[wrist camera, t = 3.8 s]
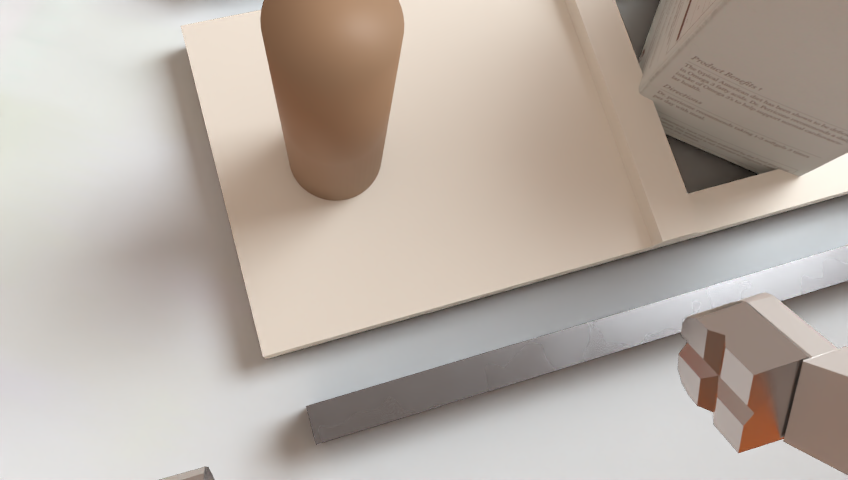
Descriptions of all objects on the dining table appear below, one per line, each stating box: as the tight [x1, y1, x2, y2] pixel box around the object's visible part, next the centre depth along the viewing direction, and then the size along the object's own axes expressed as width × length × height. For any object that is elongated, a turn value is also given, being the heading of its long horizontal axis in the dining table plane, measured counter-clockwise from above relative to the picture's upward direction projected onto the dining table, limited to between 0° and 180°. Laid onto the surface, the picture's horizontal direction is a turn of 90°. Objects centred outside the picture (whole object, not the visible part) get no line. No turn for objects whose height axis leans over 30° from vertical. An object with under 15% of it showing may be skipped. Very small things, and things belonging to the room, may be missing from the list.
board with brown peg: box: [181, 0, 848, 359], centre depth 22 cm, size 26×12×10 cm, turn 107°
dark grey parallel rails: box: [306, 245, 848, 444], centre depth 27 cm, size 26×18×2 cm
